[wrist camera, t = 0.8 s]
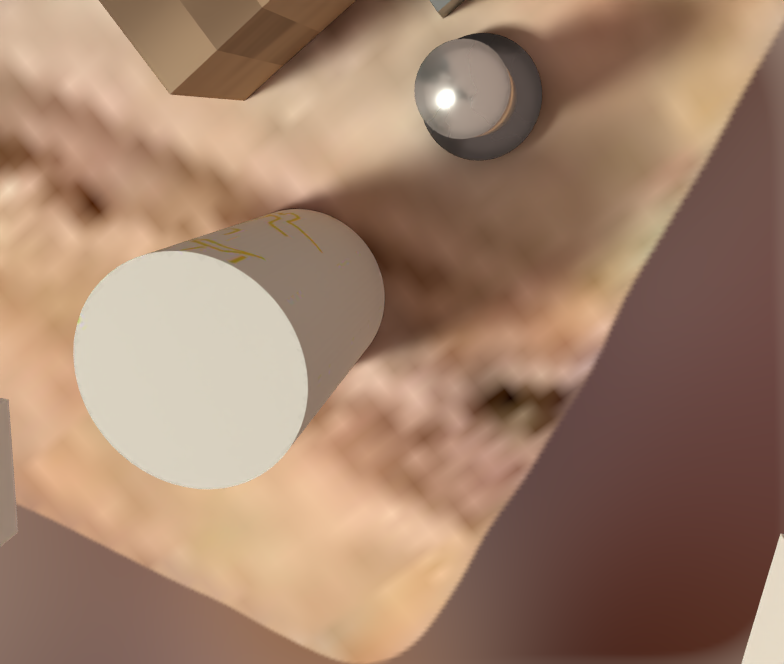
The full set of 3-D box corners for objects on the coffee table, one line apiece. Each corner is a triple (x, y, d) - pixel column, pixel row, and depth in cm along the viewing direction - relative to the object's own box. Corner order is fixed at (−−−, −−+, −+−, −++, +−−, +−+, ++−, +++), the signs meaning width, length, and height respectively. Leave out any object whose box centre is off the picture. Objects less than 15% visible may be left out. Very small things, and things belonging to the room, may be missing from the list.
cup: (340, 180, 33) (236, 209, 22) (412, 341, 35) (349, 446, 23) (193, 248, 35) (31, 306, 24) (266, 396, 37) (145, 517, 25)
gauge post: (400, 88, 32) (353, 75, 23) (496, 9, 30) (480, -34, 22) (468, 182, 32) (444, 202, 24) (565, 110, 30) (574, 104, 22)
